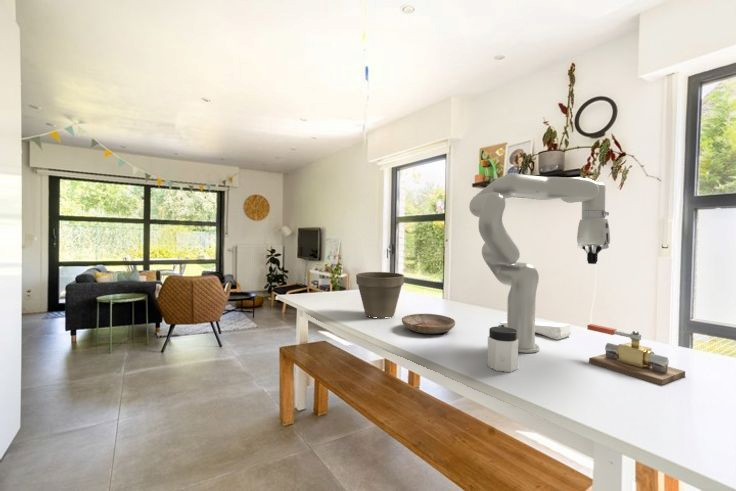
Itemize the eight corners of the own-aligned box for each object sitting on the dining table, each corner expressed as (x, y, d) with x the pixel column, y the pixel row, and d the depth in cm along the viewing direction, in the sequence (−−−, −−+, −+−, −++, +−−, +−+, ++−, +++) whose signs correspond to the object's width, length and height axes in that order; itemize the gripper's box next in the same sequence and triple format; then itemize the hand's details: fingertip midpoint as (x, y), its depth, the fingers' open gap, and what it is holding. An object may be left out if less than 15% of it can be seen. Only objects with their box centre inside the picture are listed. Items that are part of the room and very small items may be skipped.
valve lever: (642, 339, 111) (643, 332, 111) (638, 340, 110) (638, 333, 110) (591, 328, 125) (591, 322, 124) (587, 329, 123) (587, 322, 123)
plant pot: (401, 322, 171) (402, 277, 170) (351, 320, 175) (351, 276, 174) (405, 312, 195) (405, 272, 195) (361, 310, 199) (361, 271, 199)
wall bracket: (501, 338, 165) (562, 345, 143) (497, 323, 165) (558, 328, 142) (513, 330, 171) (573, 335, 148) (509, 315, 171) (569, 319, 148)
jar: (487, 370, 110) (488, 331, 110) (487, 361, 118) (487, 325, 117) (519, 373, 107) (519, 334, 107) (516, 364, 115) (517, 327, 115)
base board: (661, 385, 100) (661, 379, 100) (589, 362, 117) (589, 358, 117) (685, 376, 106) (685, 371, 106) (612, 356, 124) (613, 351, 124)
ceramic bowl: (391, 332, 154) (391, 320, 154) (416, 321, 174) (416, 311, 174) (442, 341, 141) (442, 328, 141) (463, 328, 160) (463, 317, 160)
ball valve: (661, 374, 104) (661, 347, 103) (603, 357, 118) (603, 334, 117) (669, 371, 106) (670, 345, 106) (612, 355, 120) (612, 332, 120)
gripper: (619, 215, 132) (618, 264, 133) (578, 217, 145) (577, 262, 145) (609, 214, 128) (608, 265, 129) (568, 216, 141) (567, 262, 141)
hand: (592, 263), depth 137 cm, fingers closed
